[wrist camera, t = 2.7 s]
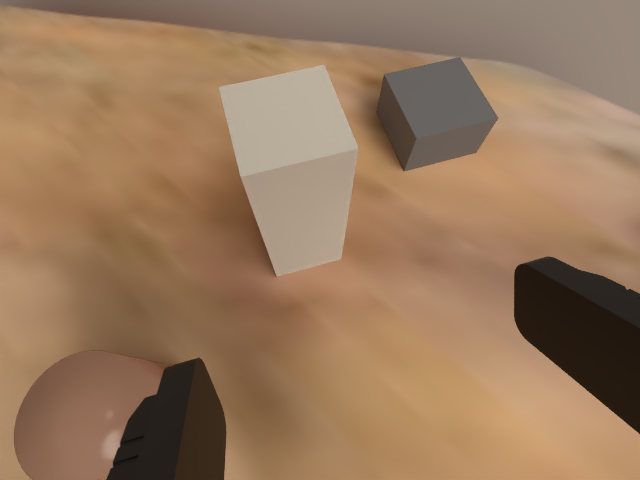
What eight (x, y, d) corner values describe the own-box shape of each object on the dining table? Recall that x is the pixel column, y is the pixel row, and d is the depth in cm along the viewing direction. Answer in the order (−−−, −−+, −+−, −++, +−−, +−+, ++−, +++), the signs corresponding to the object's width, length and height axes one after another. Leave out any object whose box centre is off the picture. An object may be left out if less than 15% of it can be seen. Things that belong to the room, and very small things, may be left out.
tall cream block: (276, 277, 24) (240, 177, 13) (261, 218, 26) (218, 87, 15) (341, 259, 25) (358, 148, 14) (322, 203, 26) (324, 64, 15)
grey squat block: (403, 172, 28) (416, 138, 24) (376, 113, 30) (384, 74, 26) (475, 154, 28) (498, 118, 25) (443, 97, 31) (460, 57, 27)
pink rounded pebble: (111, 471, 20) (11, 508, 13) (106, 377, 22) (16, 370, 15) (203, 442, 20) (148, 464, 14) (190, 353, 22) (137, 335, 16)
